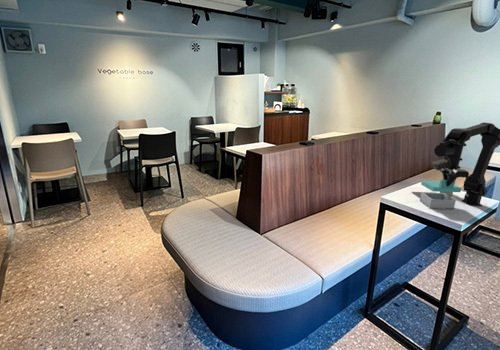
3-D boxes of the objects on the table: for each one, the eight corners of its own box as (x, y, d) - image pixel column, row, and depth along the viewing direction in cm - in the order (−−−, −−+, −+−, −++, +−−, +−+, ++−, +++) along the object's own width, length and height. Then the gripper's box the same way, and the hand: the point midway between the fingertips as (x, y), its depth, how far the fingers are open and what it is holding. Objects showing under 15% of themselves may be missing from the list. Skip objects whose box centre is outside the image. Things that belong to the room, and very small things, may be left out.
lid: (446, 185, 154) (448, 175, 152) (460, 192, 143) (462, 181, 141) (420, 184, 154) (422, 174, 152) (432, 191, 143) (435, 180, 142)
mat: (435, 193, 168) (436, 192, 168) (447, 200, 158) (447, 199, 157) (411, 192, 169) (411, 191, 169) (421, 199, 158) (421, 198, 158)
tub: (442, 201, 156) (444, 193, 154) (453, 209, 146) (455, 200, 145) (419, 200, 156) (421, 192, 155) (429, 208, 147) (431, 199, 145)
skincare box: (452, 194, 167) (457, 174, 163) (451, 196, 163) (456, 176, 160) (439, 191, 170) (444, 172, 167) (438, 193, 167) (443, 173, 163)
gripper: (426, 150, 148) (420, 179, 152) (448, 159, 130) (441, 191, 135) (448, 151, 147) (441, 179, 152) (473, 160, 129) (465, 192, 134)
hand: (446, 185), depth 143 cm, fingers closed on lid
